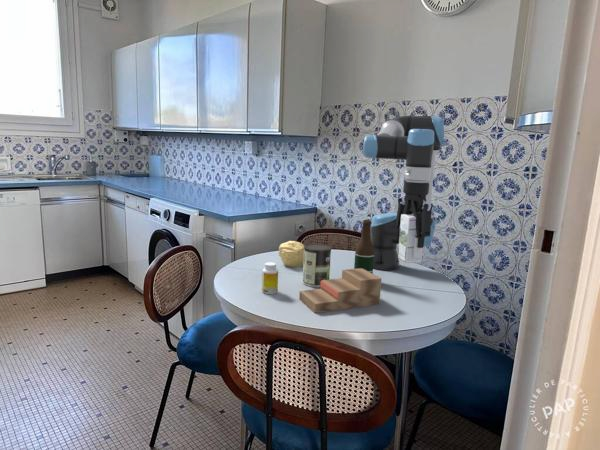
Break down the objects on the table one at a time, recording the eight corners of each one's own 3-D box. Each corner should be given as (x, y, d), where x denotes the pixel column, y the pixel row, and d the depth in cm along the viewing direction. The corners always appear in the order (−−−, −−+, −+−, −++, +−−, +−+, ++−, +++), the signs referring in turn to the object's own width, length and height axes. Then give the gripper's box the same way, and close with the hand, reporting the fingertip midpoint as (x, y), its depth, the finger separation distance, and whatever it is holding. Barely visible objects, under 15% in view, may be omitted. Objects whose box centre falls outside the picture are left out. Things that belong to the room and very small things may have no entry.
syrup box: (422, 262, 129) (426, 216, 126) (404, 263, 128) (409, 216, 125) (413, 257, 134) (417, 213, 132) (396, 258, 133) (400, 213, 130)
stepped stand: (360, 292, 150) (361, 268, 148) (379, 304, 139) (381, 278, 137) (299, 299, 140) (300, 273, 138) (314, 313, 129) (316, 285, 128)
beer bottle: (367, 285, 158) (372, 223, 153) (349, 281, 162) (353, 220, 157) (375, 280, 164) (380, 220, 159) (357, 276, 168) (361, 217, 163)
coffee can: (330, 280, 162) (333, 244, 159) (327, 288, 152) (329, 251, 149) (304, 277, 164) (306, 242, 161) (299, 285, 154) (301, 248, 151)
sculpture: (274, 265, 178) (275, 241, 175) (289, 259, 188) (290, 236, 186) (297, 270, 172) (298, 245, 170) (311, 264, 182) (313, 240, 180)
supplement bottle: (280, 293, 145) (281, 265, 143) (265, 295, 142) (265, 266, 140) (273, 288, 150) (274, 260, 148) (259, 290, 147) (260, 262, 145)
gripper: (387, 178, 133) (381, 248, 138) (429, 184, 116) (420, 264, 120) (406, 178, 136) (400, 246, 141) (449, 184, 119) (440, 262, 124)
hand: (409, 254), depth 131 cm, fingers closed on syrup box, 6 cm apart
